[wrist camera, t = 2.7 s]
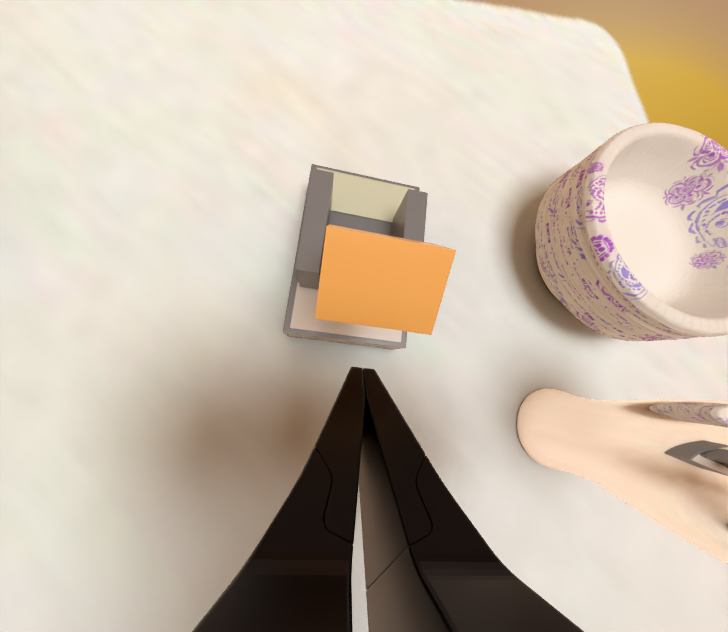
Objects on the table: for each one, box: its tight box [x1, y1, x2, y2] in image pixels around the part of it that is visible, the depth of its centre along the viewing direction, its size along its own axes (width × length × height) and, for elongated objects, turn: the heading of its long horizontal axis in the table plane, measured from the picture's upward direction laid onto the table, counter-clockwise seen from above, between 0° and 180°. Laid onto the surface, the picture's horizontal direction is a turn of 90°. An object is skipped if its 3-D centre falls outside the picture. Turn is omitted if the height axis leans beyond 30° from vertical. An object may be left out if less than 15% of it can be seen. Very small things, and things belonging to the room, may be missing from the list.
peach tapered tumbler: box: [517, 388, 728, 564], centre depth 14 cm, size 7×7×15 cm
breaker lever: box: [315, 224, 456, 335], centre depth 13 cm, size 3×4×11 cm
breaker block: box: [283, 164, 428, 349], centre depth 18 cm, size 12×8×6 cm, turn 172°
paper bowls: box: [535, 123, 728, 341], centre depth 21 cm, size 15×15×8 cm
